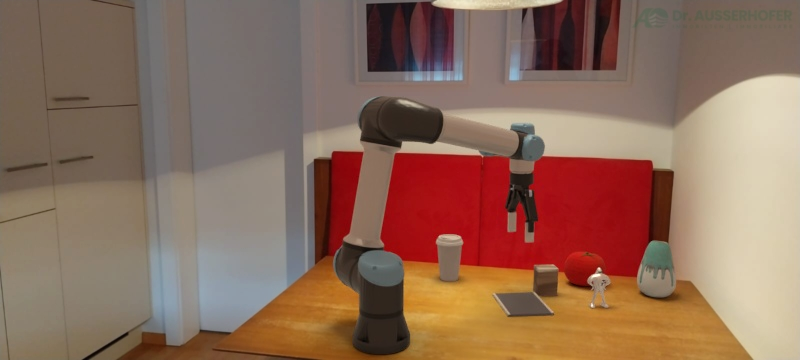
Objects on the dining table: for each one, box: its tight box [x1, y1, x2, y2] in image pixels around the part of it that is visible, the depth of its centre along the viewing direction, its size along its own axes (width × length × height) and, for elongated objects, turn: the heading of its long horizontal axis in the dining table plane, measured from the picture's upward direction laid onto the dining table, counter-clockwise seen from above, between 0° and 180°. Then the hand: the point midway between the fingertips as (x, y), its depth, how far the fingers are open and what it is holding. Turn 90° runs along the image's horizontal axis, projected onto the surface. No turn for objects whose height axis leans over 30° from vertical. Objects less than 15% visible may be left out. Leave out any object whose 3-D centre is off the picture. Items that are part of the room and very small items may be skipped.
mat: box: [492, 291, 555, 318], centre depth 182 cm, size 18×14×1 cm
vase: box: [636, 240, 677, 298], centre depth 190 cm, size 12×12×18 cm
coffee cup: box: [435, 233, 464, 282], centre depth 206 cm, size 10×10×15 cm
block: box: [532, 264, 560, 297], centre depth 191 cm, size 5×7×9 cm
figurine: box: [587, 268, 611, 309], centre depth 180 cm, size 7×4×12 cm, turn 94°
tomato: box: [563, 251, 606, 287], centre depth 200 cm, size 12×14×12 cm
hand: (520, 236), depth 191 cm, fingers open, 13 cm apart
